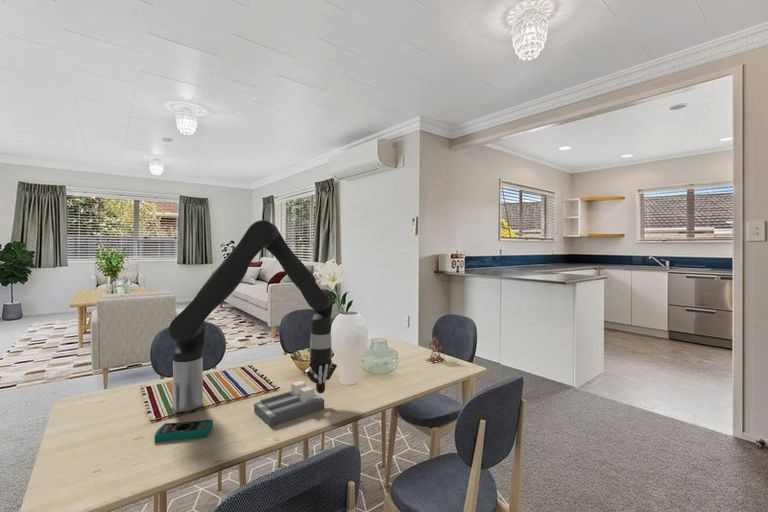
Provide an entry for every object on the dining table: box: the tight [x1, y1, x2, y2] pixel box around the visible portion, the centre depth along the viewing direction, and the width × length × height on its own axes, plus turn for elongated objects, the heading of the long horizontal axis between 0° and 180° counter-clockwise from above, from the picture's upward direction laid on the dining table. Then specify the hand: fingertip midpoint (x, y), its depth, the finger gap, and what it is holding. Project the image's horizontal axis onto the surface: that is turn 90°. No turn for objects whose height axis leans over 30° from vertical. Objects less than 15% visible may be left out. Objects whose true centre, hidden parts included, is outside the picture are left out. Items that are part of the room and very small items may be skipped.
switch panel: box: [253, 390, 325, 427], centre depth 125 cm, size 20×13×4 cm, turn 131°
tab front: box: [300, 385, 315, 402], centre depth 125 cm, size 4×3×4 cm
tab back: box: [290, 380, 307, 396], centre depth 130 cm, size 4×3×4 cm
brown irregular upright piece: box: [425, 336, 445, 363], centre depth 179 cm, size 9×4×12 cm, turn 122°
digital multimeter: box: [154, 419, 214, 443], centre depth 109 cm, size 7×15×3 cm, turn 102°
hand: (320, 392), depth 129 cm, fingers closed
